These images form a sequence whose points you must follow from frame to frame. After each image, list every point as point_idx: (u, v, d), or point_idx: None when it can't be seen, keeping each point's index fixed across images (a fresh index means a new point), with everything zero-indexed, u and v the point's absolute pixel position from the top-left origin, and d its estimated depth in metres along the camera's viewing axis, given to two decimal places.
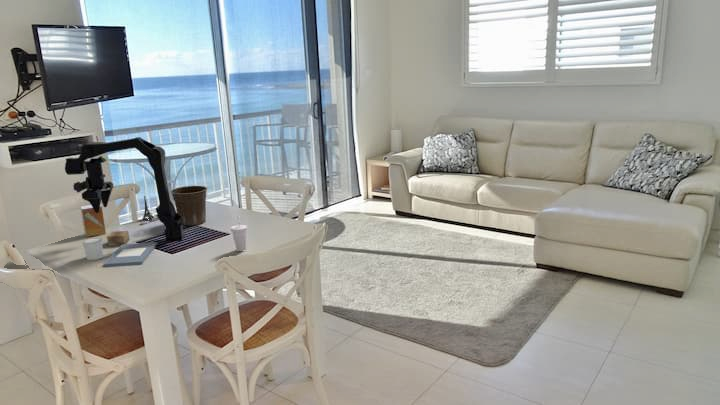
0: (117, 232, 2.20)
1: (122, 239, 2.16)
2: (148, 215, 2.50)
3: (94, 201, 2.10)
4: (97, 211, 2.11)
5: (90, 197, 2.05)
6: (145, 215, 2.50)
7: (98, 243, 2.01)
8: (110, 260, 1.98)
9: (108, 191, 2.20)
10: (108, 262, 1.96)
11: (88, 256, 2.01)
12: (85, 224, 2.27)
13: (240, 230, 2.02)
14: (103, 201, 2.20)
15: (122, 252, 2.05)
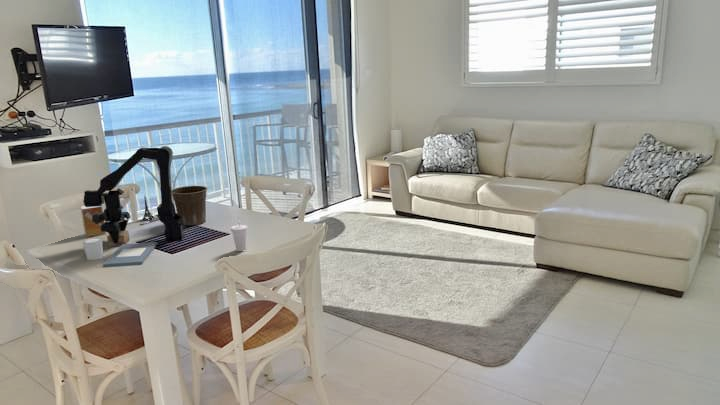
0: None
1: (122, 239, 2.16)
2: (148, 215, 2.50)
3: (113, 232, 2.14)
4: (116, 241, 2.16)
5: (109, 229, 2.09)
6: (145, 215, 2.50)
7: (98, 243, 2.01)
8: (110, 260, 1.98)
9: (124, 222, 2.22)
10: (108, 262, 1.96)
11: (88, 256, 2.01)
12: (85, 224, 2.27)
13: (240, 230, 2.02)
14: None
15: (122, 252, 2.05)
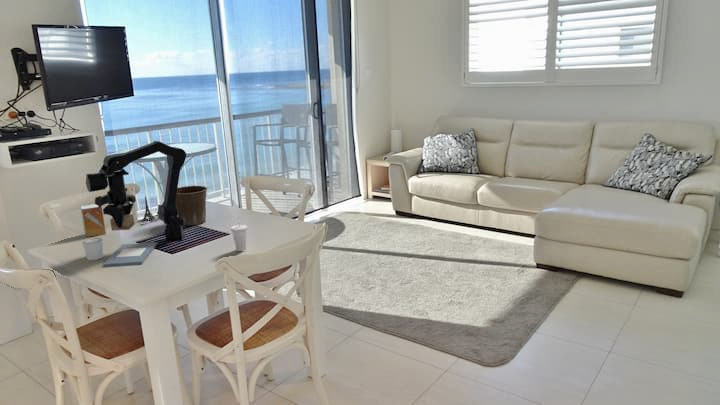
0: None
1: (126, 223, 2.04)
2: (149, 215, 2.50)
3: (117, 215, 2.02)
4: (120, 226, 2.04)
5: (112, 212, 1.96)
6: (146, 215, 2.50)
7: (98, 243, 2.01)
8: (110, 260, 1.98)
9: (129, 206, 2.10)
10: (108, 262, 1.96)
11: (88, 256, 2.01)
12: (85, 224, 2.27)
13: (240, 230, 2.02)
14: None
15: (122, 252, 2.05)
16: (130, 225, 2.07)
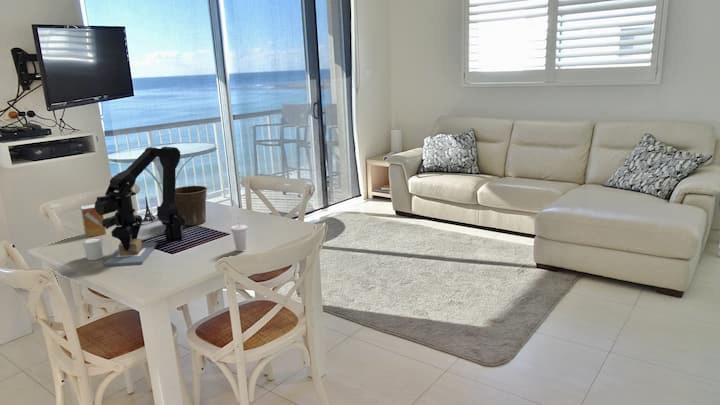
0: None
1: (135, 248, 2.02)
2: (149, 215, 2.50)
3: (124, 238, 1.98)
4: (127, 248, 2.00)
5: (120, 235, 1.94)
6: (146, 215, 2.49)
7: (98, 243, 2.01)
8: (110, 260, 1.98)
9: (137, 226, 2.08)
10: (108, 262, 1.96)
11: (88, 256, 2.01)
12: (85, 224, 2.27)
13: (240, 230, 2.02)
14: (132, 236, 2.08)
15: None
16: (138, 250, 2.04)
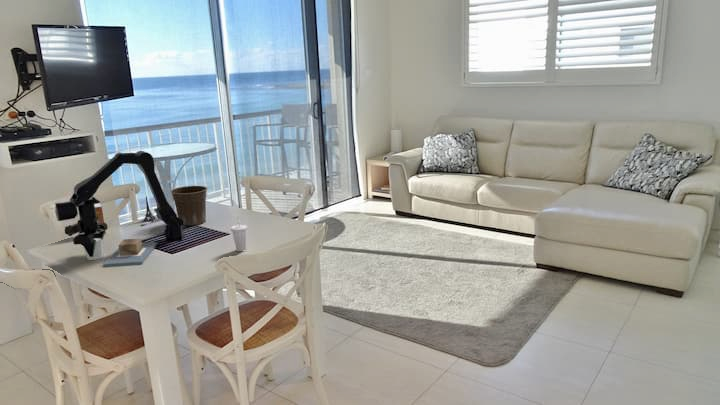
0: (129, 240, 2.06)
1: (135, 248, 2.02)
2: (150, 216, 2.49)
3: (88, 244, 1.98)
4: (91, 255, 2.00)
5: (82, 242, 1.93)
6: (147, 216, 2.49)
7: (98, 243, 2.01)
8: (110, 260, 1.98)
9: (101, 234, 2.06)
10: (108, 262, 1.96)
11: (88, 256, 2.01)
12: None
13: (240, 230, 2.02)
14: None
15: None
16: (138, 250, 2.04)
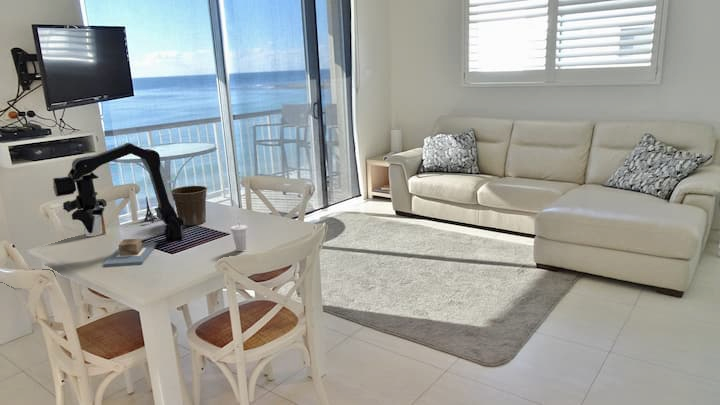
0: (129, 240, 2.06)
1: (135, 248, 2.02)
2: (150, 216, 2.49)
3: (87, 220, 1.96)
4: (90, 231, 1.98)
5: (81, 218, 1.90)
6: (147, 216, 2.49)
7: (97, 219, 1.99)
8: (110, 260, 1.98)
9: (100, 210, 2.04)
10: (108, 262, 1.96)
11: (87, 232, 1.99)
12: None
13: (240, 230, 2.02)
14: None
15: None
16: (138, 250, 2.04)
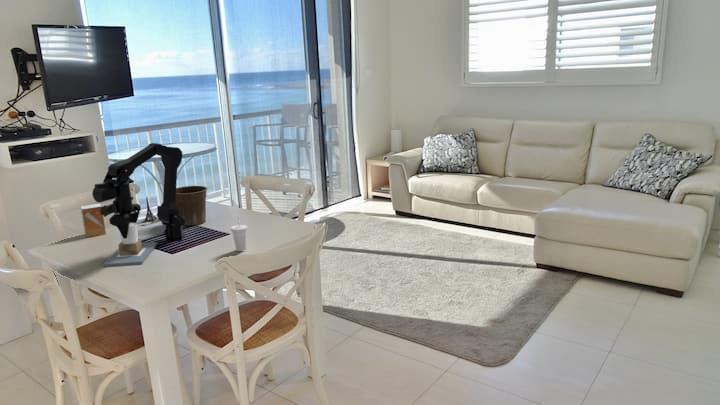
0: None
1: (135, 248, 2.02)
2: (150, 216, 2.49)
3: (122, 226, 1.97)
4: (125, 236, 1.98)
5: (118, 222, 1.92)
6: (147, 216, 2.49)
7: (133, 227, 2.01)
8: (110, 260, 1.98)
9: (136, 214, 2.07)
10: (108, 262, 1.96)
11: (123, 240, 2.01)
12: (85, 224, 2.27)
13: (240, 230, 2.02)
14: None
15: None
16: (138, 250, 2.04)
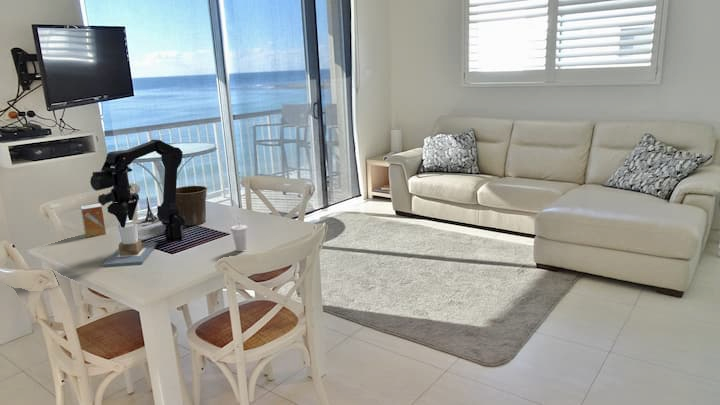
0: None
1: (135, 248, 2.02)
2: (150, 216, 2.48)
3: (120, 215, 1.95)
4: (123, 225, 1.97)
5: (116, 211, 1.91)
6: (148, 216, 2.48)
7: (133, 227, 2.01)
8: (110, 260, 1.98)
9: (134, 203, 2.06)
10: (108, 262, 1.96)
11: (123, 240, 2.01)
12: (85, 224, 2.27)
13: (240, 230, 2.02)
14: (128, 214, 2.06)
15: None
16: (138, 250, 2.04)
